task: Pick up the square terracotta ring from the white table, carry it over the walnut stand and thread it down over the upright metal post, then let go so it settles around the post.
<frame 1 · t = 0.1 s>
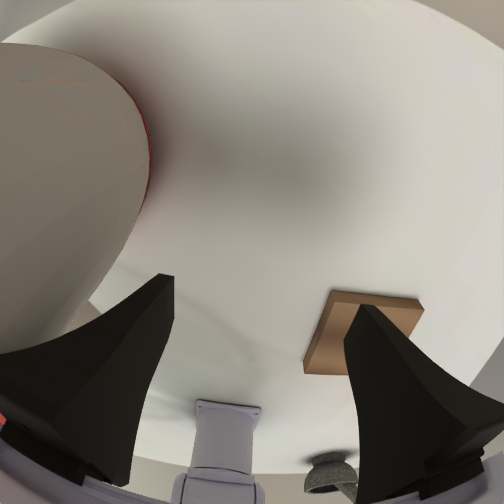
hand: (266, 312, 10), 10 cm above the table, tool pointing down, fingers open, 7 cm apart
post stand: (360, 333, 24), on the table
citrus juicer: (84, 166, 18), on the table
mortar and pestle: (331, 456, 41), on the table
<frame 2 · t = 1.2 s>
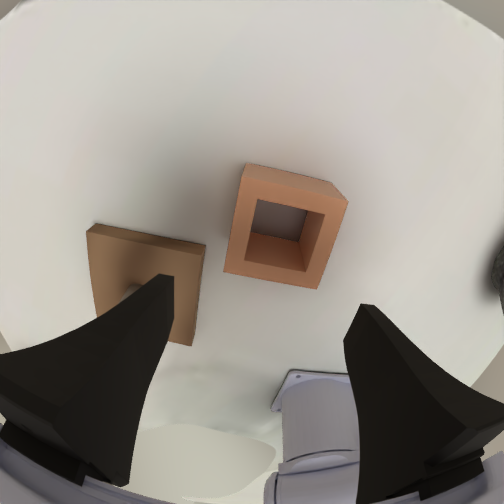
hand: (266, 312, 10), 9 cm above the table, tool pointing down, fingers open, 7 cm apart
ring: (279, 212, 18), on the table
post stand: (145, 283, 22), on the table
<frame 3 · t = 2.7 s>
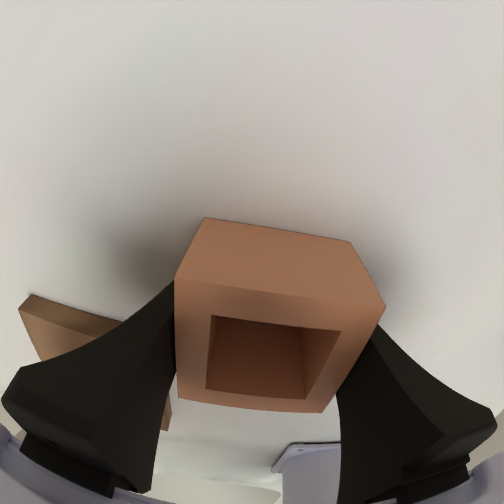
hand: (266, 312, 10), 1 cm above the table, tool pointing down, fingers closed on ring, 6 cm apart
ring: (266, 291, 12), on the table, touching gripper
post stand: (102, 364, 15), on the table
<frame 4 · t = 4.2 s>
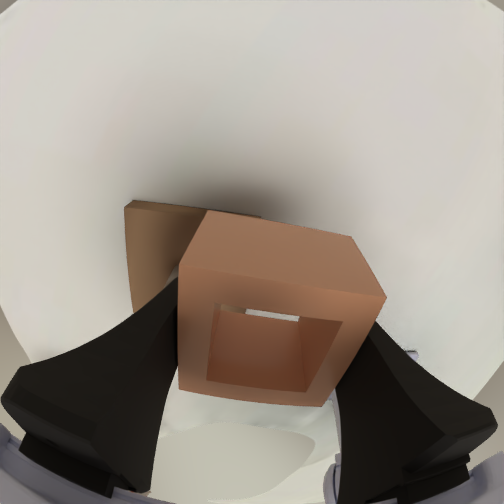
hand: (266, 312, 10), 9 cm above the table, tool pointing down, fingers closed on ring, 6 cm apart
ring: (267, 284, 12), point 8 cm above the table, touching gripper
post stand: (190, 264, 21), on the table
when the fingers open (5 cm above the table, at t = 6.1 s): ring drops 2 cm, resting on post stand.
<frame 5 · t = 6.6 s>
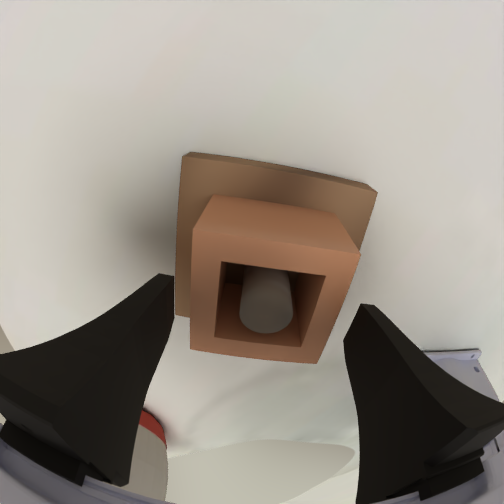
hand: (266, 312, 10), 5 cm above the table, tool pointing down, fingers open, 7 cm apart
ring: (265, 257, 14), point 1 cm above the table, touching post stand
post stand: (265, 247, 15), on the table
citrus juicer: (125, 416, 27), on the table
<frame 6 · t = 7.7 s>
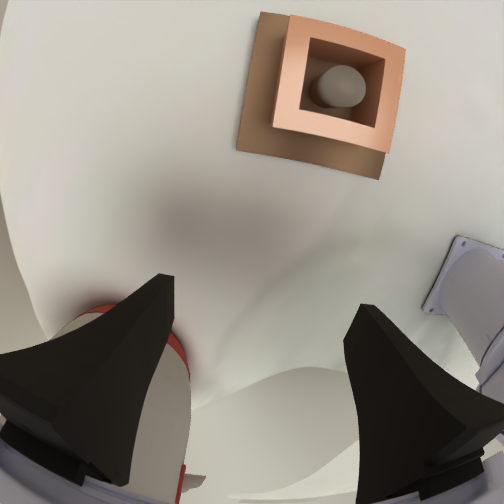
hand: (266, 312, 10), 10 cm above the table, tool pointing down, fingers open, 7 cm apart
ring: (325, 88, 14), point 1 cm above the table, touching post stand
post stand: (320, 93, 15), on the table
citrus juicer: (141, 347, 26), on the table
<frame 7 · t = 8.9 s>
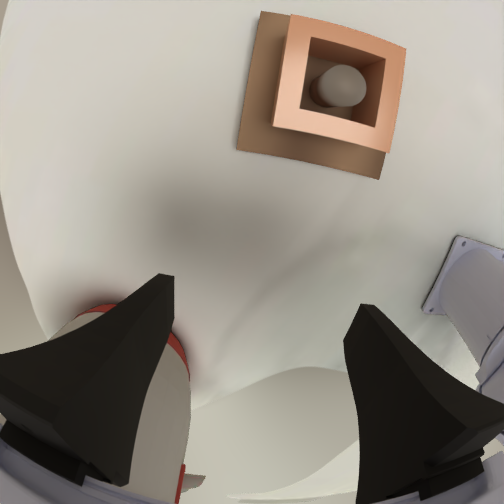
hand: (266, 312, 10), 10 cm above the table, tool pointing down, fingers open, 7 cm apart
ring: (326, 88, 14), point 1 cm above the table, touching post stand
post stand: (321, 93, 15), on the table
citrus juicer: (141, 347, 26), on the table
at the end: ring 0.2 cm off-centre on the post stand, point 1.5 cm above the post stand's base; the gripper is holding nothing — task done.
